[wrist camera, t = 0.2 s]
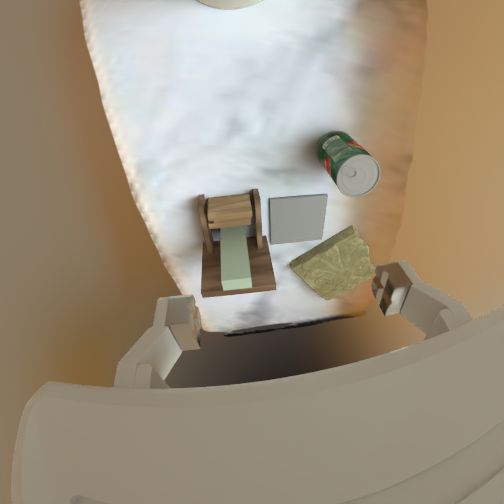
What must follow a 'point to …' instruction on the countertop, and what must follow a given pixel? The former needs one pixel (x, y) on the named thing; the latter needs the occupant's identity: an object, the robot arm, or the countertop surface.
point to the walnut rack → (256, 251)
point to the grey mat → (297, 218)
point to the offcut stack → (229, 211)
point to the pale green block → (234, 258)
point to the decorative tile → (336, 264)
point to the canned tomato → (348, 164)
